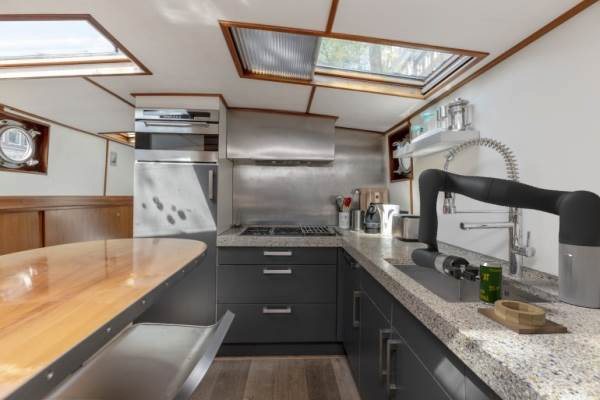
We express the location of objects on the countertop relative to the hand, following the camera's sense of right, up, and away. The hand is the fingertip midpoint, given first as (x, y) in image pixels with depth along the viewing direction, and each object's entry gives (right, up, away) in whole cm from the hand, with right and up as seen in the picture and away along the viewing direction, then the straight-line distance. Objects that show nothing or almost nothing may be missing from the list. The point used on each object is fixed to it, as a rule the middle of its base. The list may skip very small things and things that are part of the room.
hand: (488, 278), depth 80 cm
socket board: (-2, -7, -13) cm, 15 cm away
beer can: (0, -7, -1) cm, 7 cm away
